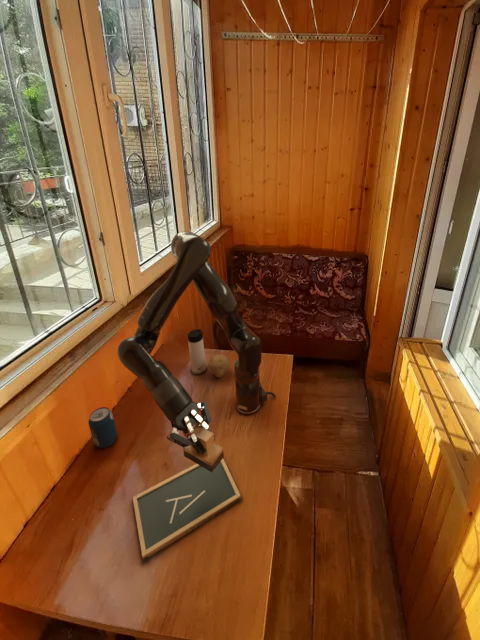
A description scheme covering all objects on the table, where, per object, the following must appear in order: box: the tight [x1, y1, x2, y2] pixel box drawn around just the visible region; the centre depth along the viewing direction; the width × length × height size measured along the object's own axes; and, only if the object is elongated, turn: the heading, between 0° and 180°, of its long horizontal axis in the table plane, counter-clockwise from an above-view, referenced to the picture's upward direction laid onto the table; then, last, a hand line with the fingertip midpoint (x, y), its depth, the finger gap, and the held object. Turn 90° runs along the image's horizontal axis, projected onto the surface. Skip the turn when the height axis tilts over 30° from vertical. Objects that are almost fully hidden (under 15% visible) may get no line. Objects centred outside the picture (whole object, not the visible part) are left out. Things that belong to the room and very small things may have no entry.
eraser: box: [182, 425, 224, 472], centre depth 86 cm, size 10×5×9 cm, turn 63°
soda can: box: [88, 406, 118, 449], centre depth 104 cm, size 7×7×12 cm
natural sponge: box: [208, 354, 231, 378], centre depth 136 cm, size 9×9×10 cm
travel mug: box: [187, 328, 207, 375], centre depth 137 cm, size 6×7×20 cm
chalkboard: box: [132, 458, 242, 562], centre depth 88 cm, size 26×16×2 cm, turn 123°
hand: (208, 446), depth 85 cm, fingers closed on eraser, 3 cm apart
